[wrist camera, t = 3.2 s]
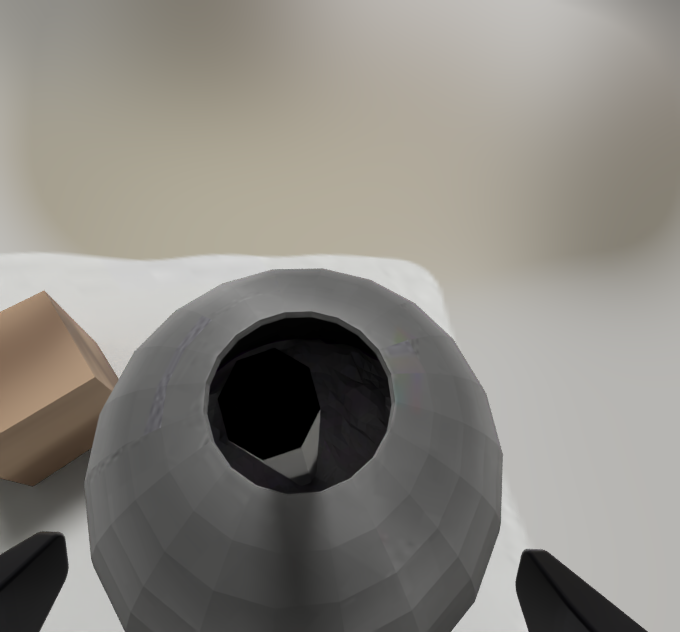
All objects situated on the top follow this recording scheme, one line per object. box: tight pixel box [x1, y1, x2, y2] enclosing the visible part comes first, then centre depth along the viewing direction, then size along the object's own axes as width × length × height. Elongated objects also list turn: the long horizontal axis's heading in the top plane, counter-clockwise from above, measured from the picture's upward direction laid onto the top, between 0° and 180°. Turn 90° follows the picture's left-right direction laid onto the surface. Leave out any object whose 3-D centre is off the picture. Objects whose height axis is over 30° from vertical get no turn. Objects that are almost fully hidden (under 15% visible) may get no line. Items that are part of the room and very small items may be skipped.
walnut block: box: [0, 291, 119, 486], centre depth 17 cm, size 5×5×5 cm
